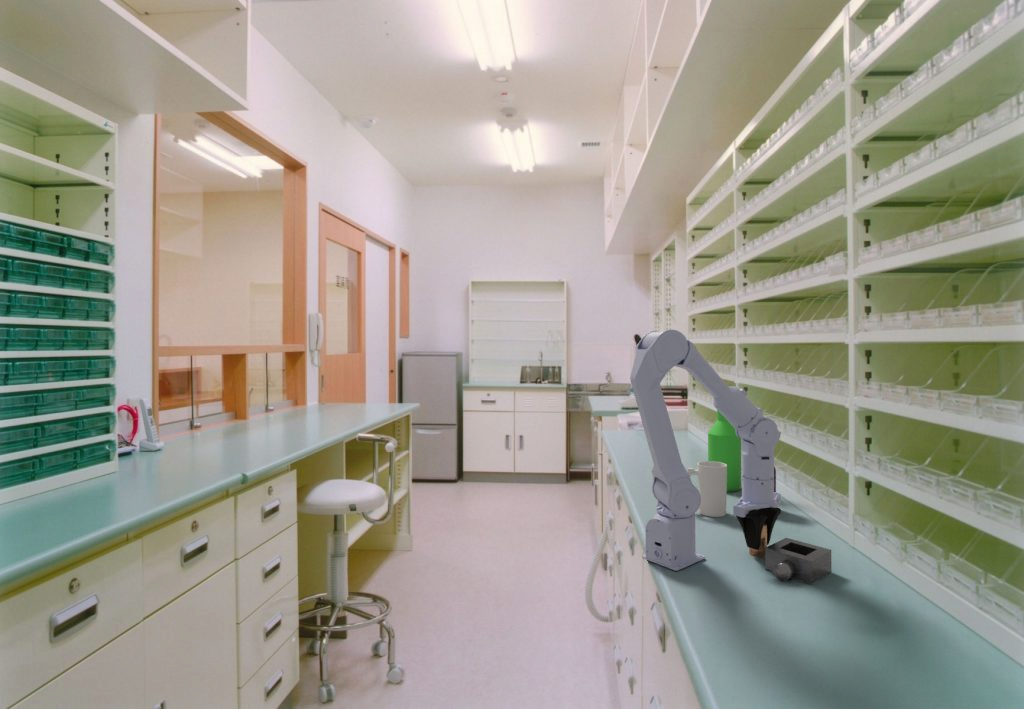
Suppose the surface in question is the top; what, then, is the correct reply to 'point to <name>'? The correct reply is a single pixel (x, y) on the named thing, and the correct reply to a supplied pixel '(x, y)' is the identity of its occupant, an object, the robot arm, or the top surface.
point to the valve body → (797, 561)
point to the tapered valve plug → (763, 544)
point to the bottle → (726, 450)
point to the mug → (711, 487)
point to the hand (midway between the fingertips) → (758, 545)
